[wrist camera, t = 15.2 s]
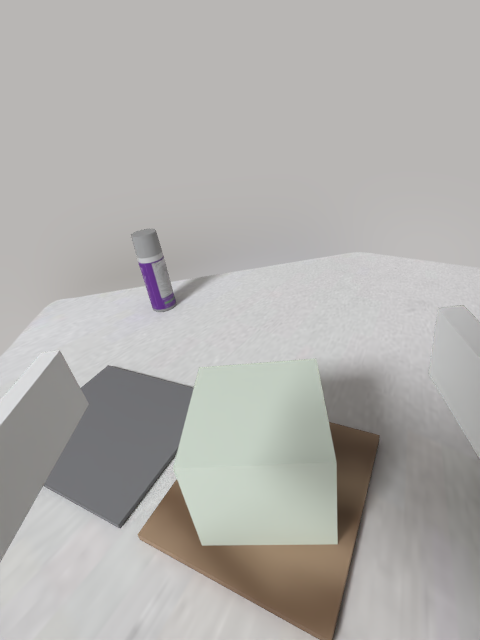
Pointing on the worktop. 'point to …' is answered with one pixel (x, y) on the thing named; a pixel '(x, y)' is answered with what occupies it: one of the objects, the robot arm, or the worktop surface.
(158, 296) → the container
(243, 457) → the pale mint green cube
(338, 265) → the worktop surface
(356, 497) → the board
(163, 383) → the mat
